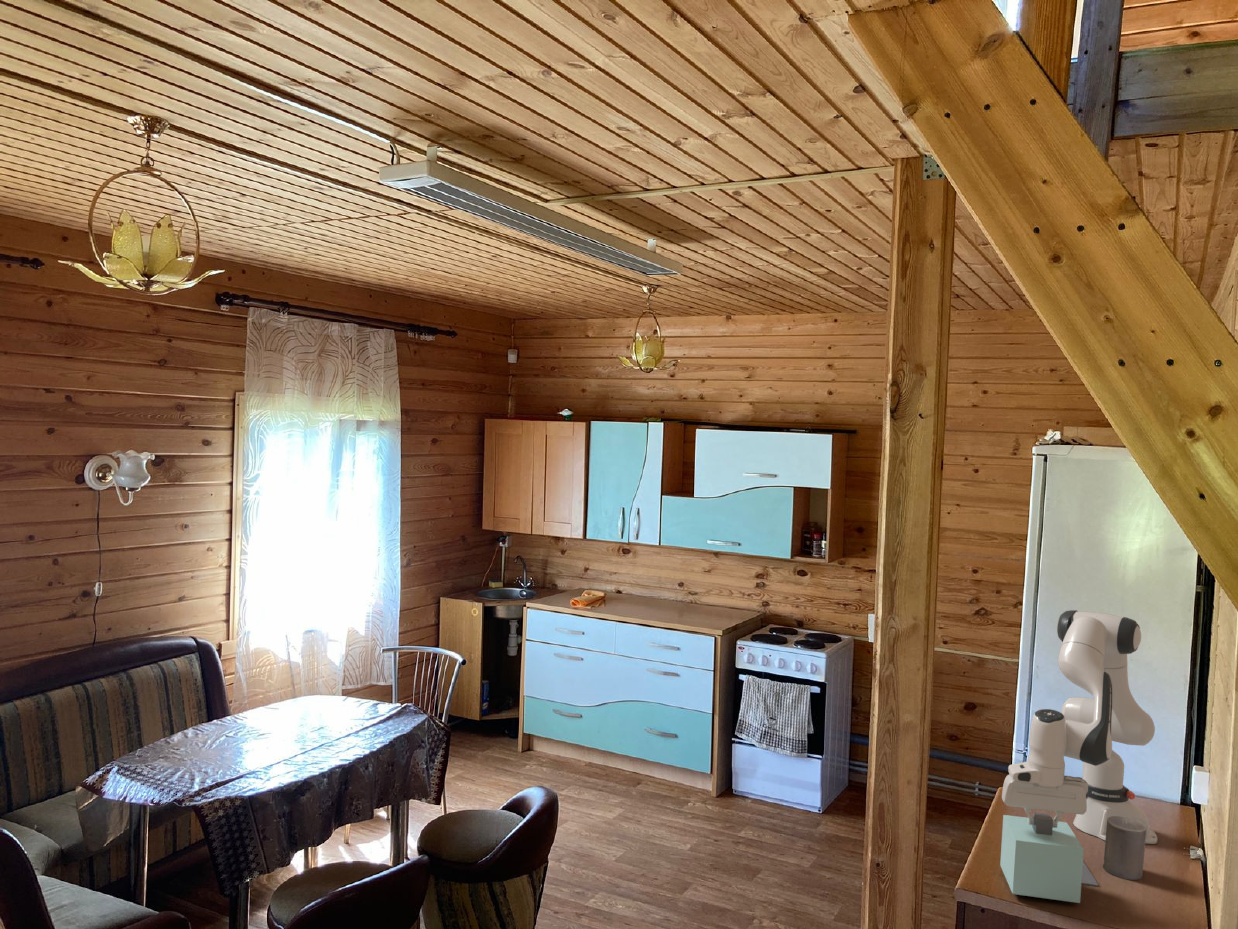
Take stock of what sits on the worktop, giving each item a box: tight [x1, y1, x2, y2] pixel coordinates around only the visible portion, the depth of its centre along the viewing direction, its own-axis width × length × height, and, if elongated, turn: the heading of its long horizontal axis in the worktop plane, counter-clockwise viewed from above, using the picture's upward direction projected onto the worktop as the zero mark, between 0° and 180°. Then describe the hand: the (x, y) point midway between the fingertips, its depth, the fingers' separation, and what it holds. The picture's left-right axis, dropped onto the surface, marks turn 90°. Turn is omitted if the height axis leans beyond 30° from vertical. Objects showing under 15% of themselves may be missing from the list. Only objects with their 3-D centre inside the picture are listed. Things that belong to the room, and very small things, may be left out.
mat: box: [1081, 860, 1100, 887], centre depth 258 cm, size 19×19×1 cm
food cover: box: [999, 811, 1085, 904], centre depth 243 cm, size 16×16×18 cm
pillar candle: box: [1102, 816, 1146, 881], centre depth 255 cm, size 10×10×15 cm
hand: (1042, 825), depth 243 cm, fingers closed on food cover, 4 cm apart
